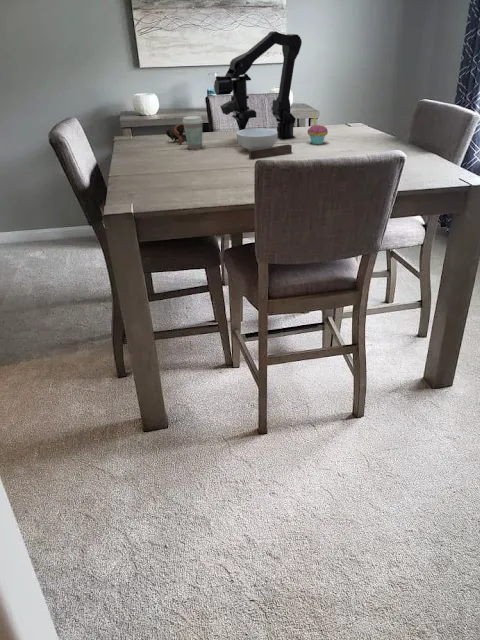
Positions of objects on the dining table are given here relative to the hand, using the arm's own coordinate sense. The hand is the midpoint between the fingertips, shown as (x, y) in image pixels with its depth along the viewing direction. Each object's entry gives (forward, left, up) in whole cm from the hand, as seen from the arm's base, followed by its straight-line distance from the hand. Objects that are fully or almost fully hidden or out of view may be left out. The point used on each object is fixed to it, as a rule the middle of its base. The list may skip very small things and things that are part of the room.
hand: (241, 133), depth 214 cm
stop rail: (0, +28, -4) cm, 28 cm away
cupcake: (-27, +19, -4) cm, 33 cm away
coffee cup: (+21, -2, -4) cm, 21 cm away
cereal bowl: (0, +16, -4) cm, 16 cm away
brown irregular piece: (+23, -17, -4) cm, 29 cm away
